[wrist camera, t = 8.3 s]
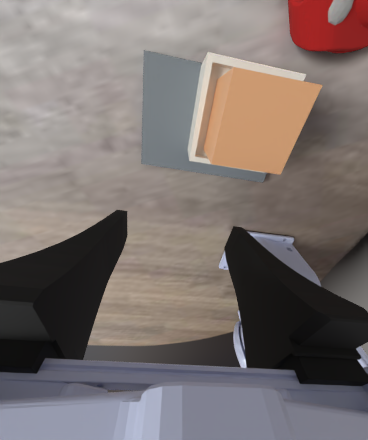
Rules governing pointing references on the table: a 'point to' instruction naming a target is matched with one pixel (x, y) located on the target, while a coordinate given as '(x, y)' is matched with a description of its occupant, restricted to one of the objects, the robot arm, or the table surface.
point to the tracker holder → (329, 24)
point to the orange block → (257, 119)
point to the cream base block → (208, 77)
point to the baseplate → (175, 117)
